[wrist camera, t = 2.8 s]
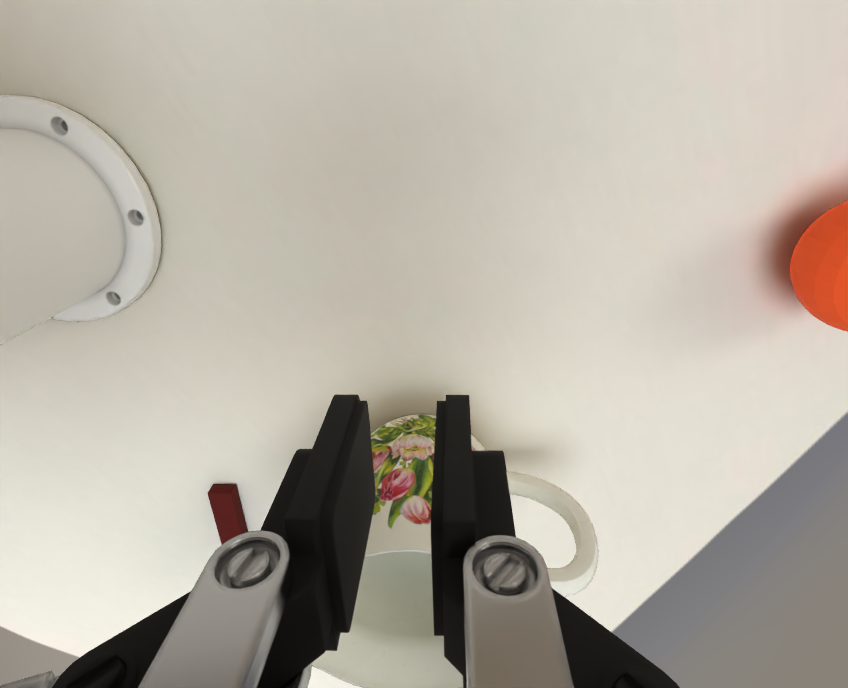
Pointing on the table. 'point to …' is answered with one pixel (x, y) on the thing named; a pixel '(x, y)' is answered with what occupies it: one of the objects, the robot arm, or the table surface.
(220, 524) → the spatula
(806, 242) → the clementine
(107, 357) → the table surface
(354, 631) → the pitcher
